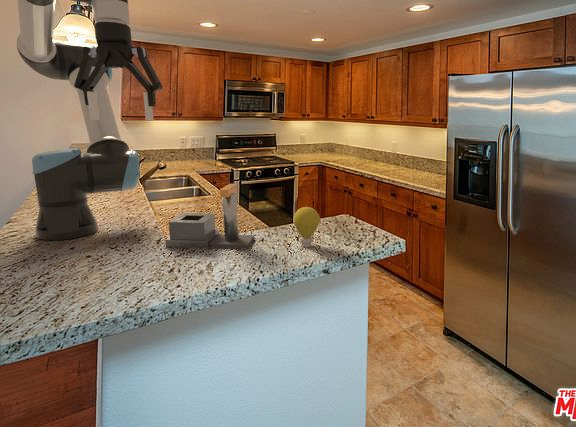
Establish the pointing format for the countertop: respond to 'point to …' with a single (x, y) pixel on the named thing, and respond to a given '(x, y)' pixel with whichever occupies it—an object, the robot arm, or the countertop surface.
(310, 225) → the light bulb
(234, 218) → the key
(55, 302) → the countertop surface
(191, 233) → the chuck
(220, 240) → the mat
